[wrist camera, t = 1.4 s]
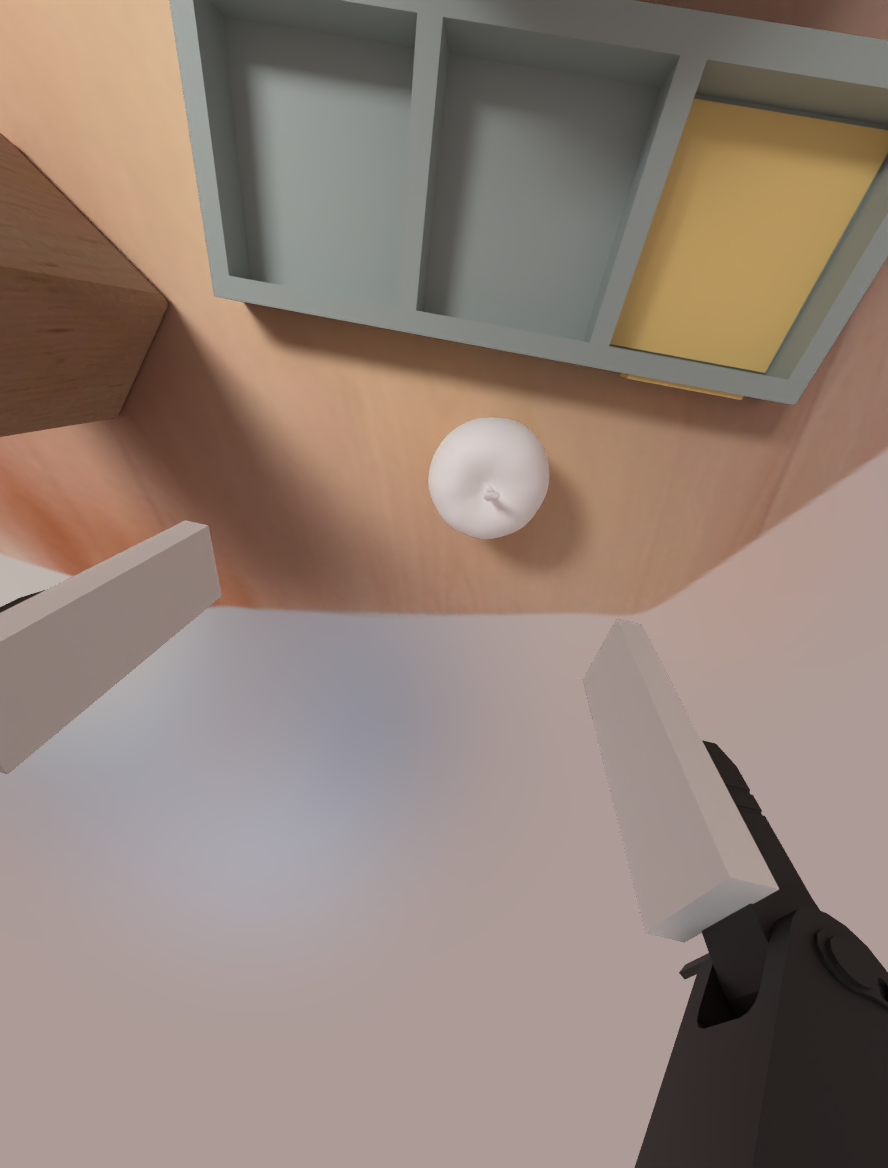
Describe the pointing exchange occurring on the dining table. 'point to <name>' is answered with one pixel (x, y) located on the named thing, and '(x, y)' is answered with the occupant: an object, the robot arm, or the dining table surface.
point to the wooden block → (64, 308)
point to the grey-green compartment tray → (546, 177)
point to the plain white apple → (489, 477)
